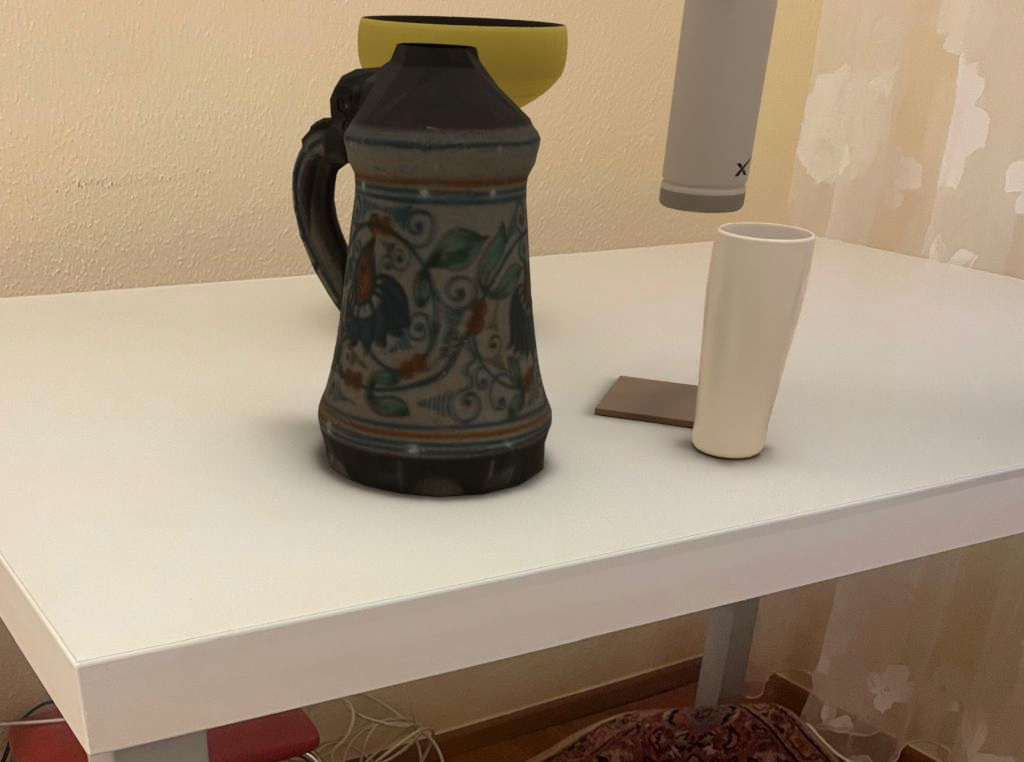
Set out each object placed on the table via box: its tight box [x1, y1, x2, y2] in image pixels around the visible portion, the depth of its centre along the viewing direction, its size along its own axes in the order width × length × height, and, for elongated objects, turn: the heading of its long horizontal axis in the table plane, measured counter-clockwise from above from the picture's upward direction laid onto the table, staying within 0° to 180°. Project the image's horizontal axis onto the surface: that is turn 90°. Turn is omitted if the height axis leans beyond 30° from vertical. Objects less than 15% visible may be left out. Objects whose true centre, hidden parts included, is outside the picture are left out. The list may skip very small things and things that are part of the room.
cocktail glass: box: [357, 14, 569, 109], centre depth 109 cm, size 18×18×25 cm
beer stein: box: [291, 43, 553, 497], centre depth 79 cm, size 16×19×25 cm
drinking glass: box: [691, 221, 817, 459], centre depth 85 cm, size 7×7×15 cm
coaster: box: [593, 375, 698, 428], centre depth 98 cm, size 10×10×1 cm
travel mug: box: [658, 0, 779, 214], centre depth 84 cm, size 6×7×20 cm
